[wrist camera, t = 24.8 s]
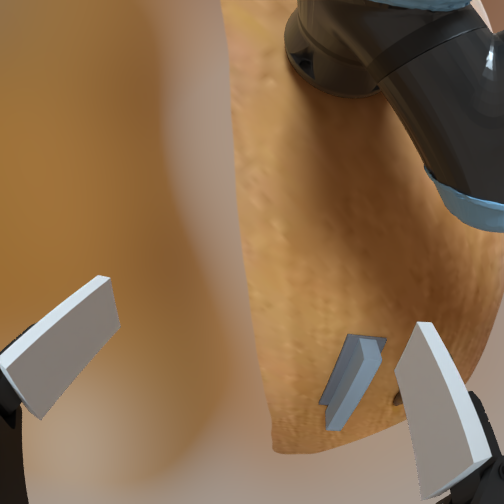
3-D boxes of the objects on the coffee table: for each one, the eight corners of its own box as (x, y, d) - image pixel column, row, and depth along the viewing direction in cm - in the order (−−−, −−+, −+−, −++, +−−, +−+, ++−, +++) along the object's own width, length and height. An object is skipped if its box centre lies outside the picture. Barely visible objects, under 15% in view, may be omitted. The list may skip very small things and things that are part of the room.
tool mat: (347, 333, 40) (348, 336, 40) (386, 337, 39) (386, 340, 39) (318, 402, 47) (318, 404, 46) (351, 404, 46) (351, 406, 46)
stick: (359, 338, 39) (364, 358, 35) (376, 339, 39) (382, 360, 34) (325, 411, 47) (325, 430, 42) (339, 411, 47) (340, 430, 42)
